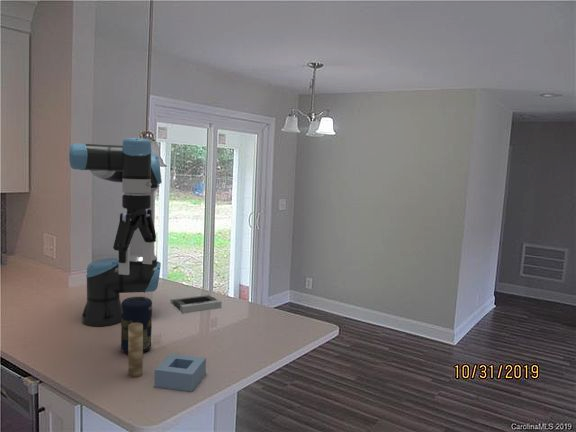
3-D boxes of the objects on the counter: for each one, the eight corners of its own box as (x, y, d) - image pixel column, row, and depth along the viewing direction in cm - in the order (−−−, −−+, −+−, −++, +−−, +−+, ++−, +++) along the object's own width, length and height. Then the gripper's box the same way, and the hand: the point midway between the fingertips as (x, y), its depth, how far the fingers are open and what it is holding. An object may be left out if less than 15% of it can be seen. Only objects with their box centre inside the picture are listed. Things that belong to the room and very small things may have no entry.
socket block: (154, 386, 127) (154, 369, 126) (170, 369, 138) (170, 353, 137) (192, 391, 125) (192, 374, 125) (205, 373, 136) (205, 357, 135)
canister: (125, 343, 155) (125, 292, 153) (154, 343, 156) (154, 292, 153) (117, 355, 145) (117, 301, 143) (147, 355, 146) (148, 301, 144)
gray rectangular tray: (182, 307, 186) (170, 293, 200) (182, 317, 187) (169, 303, 201) (221, 301, 196) (207, 288, 209) (220, 311, 196) (206, 298, 210)
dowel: (125, 376, 132) (125, 326, 130) (132, 370, 136) (132, 322, 134) (138, 378, 131) (138, 328, 129) (145, 372, 135) (145, 323, 133)
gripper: (126, 197, 114) (126, 280, 117) (168, 192, 139) (167, 260, 141) (98, 196, 115) (99, 278, 118) (144, 191, 140) (144, 259, 142)
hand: (136, 268), depth 130 cm, fingers open, 13 cm apart
